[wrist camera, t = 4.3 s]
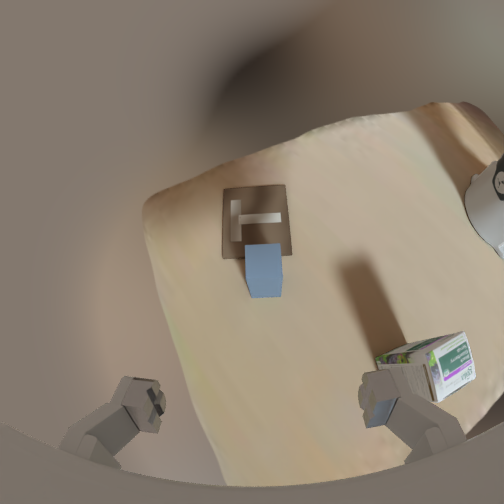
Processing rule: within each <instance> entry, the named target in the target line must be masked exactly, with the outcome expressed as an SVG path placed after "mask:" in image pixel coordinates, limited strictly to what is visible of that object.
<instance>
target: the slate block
mask: <svg viewBox="0 0 504 504" xmlns="http://www.w3.org/2000/svg"><path fill="white" fill-rule="evenodd" d="M245 268H246V281H247V285H248V288H249V291H250V294H251V297H252V298H264V297H281V289H282V279H283V274H282V260H281V246H280V243H275V244H258V245H245Z"/></svg>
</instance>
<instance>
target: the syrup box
mask: <svg viewBox="0 0 504 504" xmlns="http://www.w3.org/2000/svg"><path fill="white" fill-rule="evenodd" d="M375 359H376V363H377V366H378V369H379V370H382V369H388V368H393V367H400V368H401V370H402V372H403V374H404V376H405V378H406V380H407V382H408V384H409V387H410V389H411V391H412V393H413V394H418V395H419V396H421V397H423V398H424V399H426V400H427V401H429V402H435V403H439V402H440V401H442V400H444V399H445V398H447V397H448V396H450V395H452V394H453V393H455V392H457V391H458V390H460V389H461V388H463V387H464V386H465V385H467V384H468V383H469V382H471V381H472V380H474V379H475V378H476V374H475V368H474V362H473V358H472V353H471V350H470V346H469V343H468V340H467V337H466V335H465V332H464V331H461V332H457V333H453V334H449V335H445V336H440V337H436V338H431V339H426V340H422V341H417V342H413V343H408V344H405V345H403V346H400V347H398V348H396V349H394V350H391V351H389V352H387V353H385V354H383V355H380V356H378V357H376V358H375Z"/></svg>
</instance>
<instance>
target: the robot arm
mask: <svg viewBox="0 0 504 504" xmlns="http://www.w3.org/2000/svg"><path fill="white" fill-rule="evenodd" d="M465 206H466V210H467V213H468V216H469V219H470V221H471V223H472V225H473V226H474V228H475V229H476V231H477V232H478V234H479V235H480V236H481V237H482V238H483V239H484V240H485V241H486V242H487V243H489V244H490V245H491V246H492V247H493V248H494V249H495V250H496V252H497V253H498V254H499V256H500V257H501V258H503V259H504V153H503V155H502V156H501V157H500V159H499V160H498V161H493V162H492V163H491V164H490V165H489V166H488V167H487V168H486V169H485V170H484V171H483V172H482V173H481V174H480V175H478V174H474V175H473V176H472V179H471V185H470V187H469V188H468V189H467V191H466V194H465ZM362 382H363V384H362V385H361V386H360V387H359V391H358V400H359V405H360V408H362V409H363V410H364V413H363V419H364V422H365V426H366V428H371V427H376V426H381V425H385V426H386V427H388V428H389V429H390V430H391V431H392V432H393V433H394V434H395V435H397V436H398V437H399V438H400V439H401V440H402V441H403V442H404V443H406V444H407V445H408V446H409V447H410V448H411V449H412V451H411V453H410V454H409V455H408V457H407V458H406V459H405V461H404V462H405V465H401V466H398V467H394V468H391V469H387V470H383V471H379V472H375V473H371V474H366V475H362V476H357V477H352V478H346V479H340V480H334V481H327V482H320V483H311V484H301V485H289V486H266V487H241V486H219V485H206V484H196V483H188V482H187V483H186V482H180V481H173V480H167V479H161V478H156V477H150V476H146V475H141V474H136V473H132V472H128V471H124V470H120V469H121V465H120V463H119V462H118V461H117V460H116V459H115V458H114V457H113V456H115V455H116V454H117V453H118V452H119V451H120V450H121V449H122V448H123V447H124V446H125V445H126V444H127V443H129V442H130V441H131V440H132V439H133V438H134V437H135V436H136V435H137V434H138V433H139V431H143V432H150V433H158V431H159V428H160V425H161V422H162V421H161V419H160V416H161V415H162V414H164V412H165V408H166V399H165V396H164V393H163V392H162V391H160V390H159V388H160V384H159V382H158V381H157V380H151V379H143V378H136V377H128V376H124V377H123V378H122V379H121V381H120V383H119V385H118V387H117V389H116V391H115V393H114V395H113V397H112V399H111V401H110V403H106V404H104V405H103V406H101V407H100V408H98V409H96V410H95V411H93V412H92V413H91V414H89V415H87V416H86V417H85V418H83V419H81V420H80V421H78V422H76V423H75V424H73V425H72V426H70V427H69V428H68V430H67V432H66V434H65V436H64V438H63V440H62V442H61V444H60V446H59V448H55V447H53V446H51V445H48V444H46V443H44V442H42V441H40V440H38V439H35V438H33V437H31V436H29V435H27V434H25V433H23V432H21V431H20V430H18V429H16V428H14V427H12V426H10V425H8V424H6V423H0V504H504V422H502V423H500V424H499V425H497V426H495V427H493V428H491V429H489V430H488V431H486V432H484V433H482V434H480V435H478V436H476V437H474V438H472V439H469V440H467V439H466V436H465V434H464V432H463V430H462V428H461V426H460V424H459V422H458V420H457V418H456V417H454V416H452V415H451V414H449V413H447V412H446V411H444V410H442V409H441V408H439V407H437V406H436V405H434V404H432V403H431V402H429V401H427V400H426V399H424V398H423V397H421V396H419V395H418V394H413V393H412V391H411V389H410V387H409V384H408V382H407V380H406V378H405V376H404V374H403V372H402V370H401V368H400V367H393V368H388V369H382V370H377V371H371V372H365V373H364V374H363V376H362Z"/></svg>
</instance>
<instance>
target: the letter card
mask: <svg viewBox="0 0 504 504" xmlns="http://www.w3.org/2000/svg"><path fill="white" fill-rule="evenodd" d="M275 243H280V246H281V256H289V255H292V246H291V236H290V225H289V215H288V206H287V196H286V188H285V185H277V186H259V187H244V188H230V189H224V200H223V259H234V258H245V245H258V244H275Z"/></svg>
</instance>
